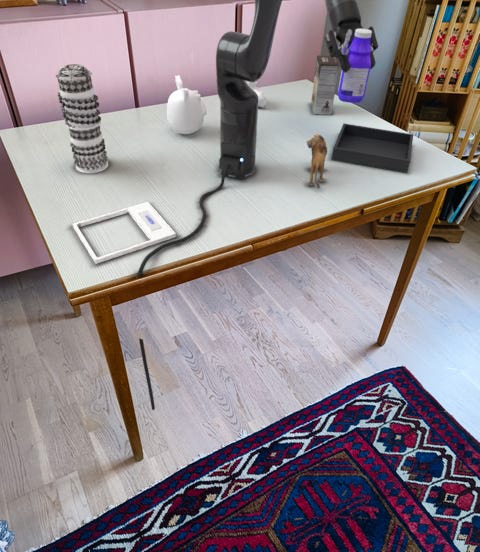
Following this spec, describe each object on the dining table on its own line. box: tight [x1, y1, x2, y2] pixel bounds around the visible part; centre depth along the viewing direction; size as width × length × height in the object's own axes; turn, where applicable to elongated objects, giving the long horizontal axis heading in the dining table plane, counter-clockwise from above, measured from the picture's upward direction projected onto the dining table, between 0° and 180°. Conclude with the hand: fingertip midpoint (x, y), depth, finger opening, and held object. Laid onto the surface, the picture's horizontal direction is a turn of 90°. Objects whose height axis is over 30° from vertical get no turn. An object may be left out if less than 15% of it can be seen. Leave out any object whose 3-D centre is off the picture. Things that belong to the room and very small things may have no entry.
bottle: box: [337, 28, 372, 104], centre depth 121 cm, size 7×6×17 cm
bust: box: [246, 80, 267, 108], centre depth 155 cm, size 12×8×11 cm
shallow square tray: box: [331, 122, 414, 174], centre depth 133 cm, size 18×21×4 cm
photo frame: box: [71, 201, 177, 265], centre depth 101 cm, size 15×1×18 cm
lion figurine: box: [306, 133, 328, 189], centre depth 120 cm, size 15×5×9 cm, turn 0°
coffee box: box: [310, 54, 341, 116], centre depth 151 cm, size 9×6×16 cm
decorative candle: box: [55, 63, 109, 174], centre depth 115 cm, size 9×9×25 cm
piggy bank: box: [166, 74, 207, 135], centre depth 136 cm, size 12×12×15 cm
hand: (359, 69), depth 120 cm, fingers closed on bottle, 7 cm apart
